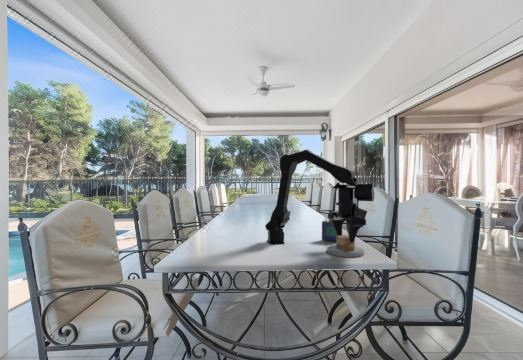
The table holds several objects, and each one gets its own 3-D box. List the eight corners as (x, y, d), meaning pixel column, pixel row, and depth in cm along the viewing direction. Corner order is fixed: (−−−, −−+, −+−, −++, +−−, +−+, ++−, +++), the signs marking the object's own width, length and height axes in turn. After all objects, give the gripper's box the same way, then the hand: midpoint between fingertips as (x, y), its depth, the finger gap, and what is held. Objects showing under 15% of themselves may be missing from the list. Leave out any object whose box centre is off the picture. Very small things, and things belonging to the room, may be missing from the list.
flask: (342, 240, 131) (342, 217, 130) (342, 242, 128) (342, 218, 127) (322, 239, 133) (321, 216, 133) (321, 241, 130) (321, 218, 130)
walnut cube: (343, 251, 109) (343, 238, 109) (336, 248, 114) (336, 235, 114) (354, 250, 110) (354, 237, 110) (347, 247, 115) (347, 235, 115)
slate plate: (338, 258, 104) (338, 255, 103) (321, 248, 117) (321, 246, 117) (371, 255, 107) (371, 252, 107) (351, 246, 121) (351, 243, 121)
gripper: (378, 202, 104) (378, 244, 105) (350, 197, 122) (350, 233, 123) (352, 203, 102) (351, 246, 102) (327, 198, 120) (327, 235, 120)
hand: (345, 239), depth 112 cm, fingers open, 9 cm apart
